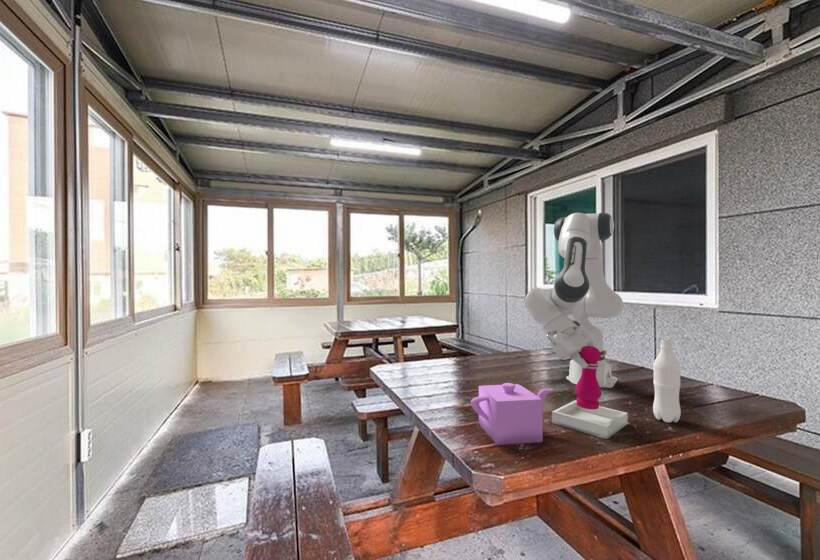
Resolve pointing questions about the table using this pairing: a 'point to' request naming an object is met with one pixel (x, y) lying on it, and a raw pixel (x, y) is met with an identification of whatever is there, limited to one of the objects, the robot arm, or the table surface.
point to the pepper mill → (589, 379)
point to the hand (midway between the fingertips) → (591, 365)
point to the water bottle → (666, 384)
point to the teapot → (510, 413)
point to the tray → (590, 419)
